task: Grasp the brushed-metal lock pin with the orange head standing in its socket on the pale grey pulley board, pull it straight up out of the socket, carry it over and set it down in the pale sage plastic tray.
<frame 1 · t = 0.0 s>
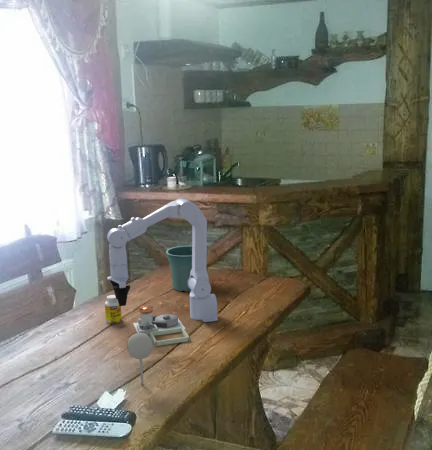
hand: (120, 302, 207), 10 cm above the table, fingers open, 7 cm apart
tray: (169, 341, 198), on the table
flower pot: (187, 288, 254), on the table
lock pin: (147, 330, 205), point 1 cm above the table, touching pulley board
supplement bottle: (114, 324, 215), on the table
pulley board: (159, 329, 209), on the table
lollipop: (142, 384, 169), on the table
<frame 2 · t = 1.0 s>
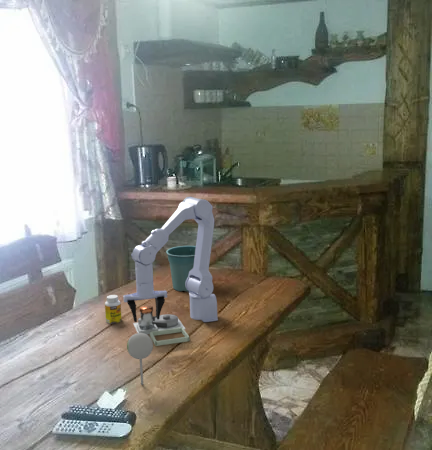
hand: (146, 319, 204), 5 cm above the table, fingers open, 7 cm apart
nothing on the table moved.
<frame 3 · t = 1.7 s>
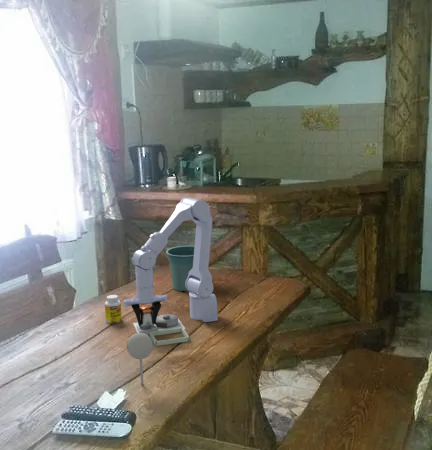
hand: (147, 324, 205), 3 cm above the table, fingers closed on lock pin, 4 cm apart
lock pin: (147, 330, 205), point 1 cm above the table, touching gripper, pulley board
everything else where it was.
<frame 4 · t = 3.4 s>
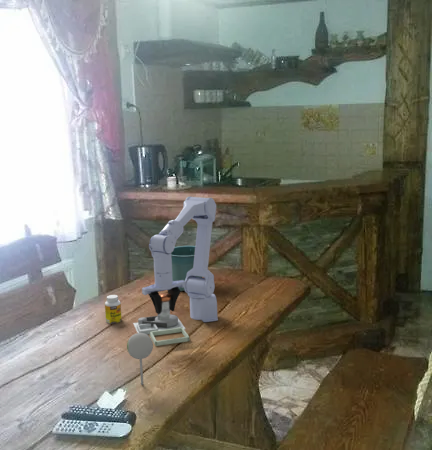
hand: (165, 311, 197), 10 cm above the table, fingers closed on lock pin, 4 cm apart
lock pin: (163, 318, 198), point 7 cm above the table, touching gripper
everything else where it was.
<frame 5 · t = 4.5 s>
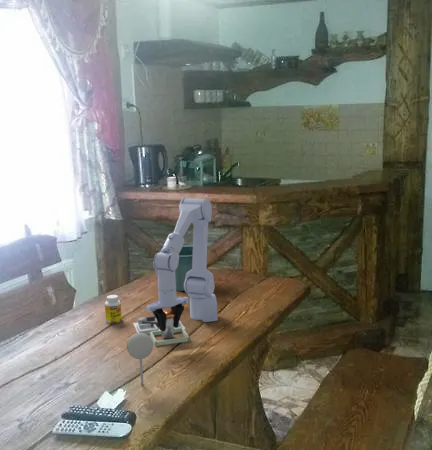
hand: (169, 328, 197), 5 cm above the table, fingers closed on lock pin, 4 cm apart
lock pin: (167, 335, 198), point 2 cm above the table, tilted 5°, touching gripper
everything else where it was.
when the fingers open (4 cm above the table, at t = 5.1 s): lock pin stays where it is, resting on tray.
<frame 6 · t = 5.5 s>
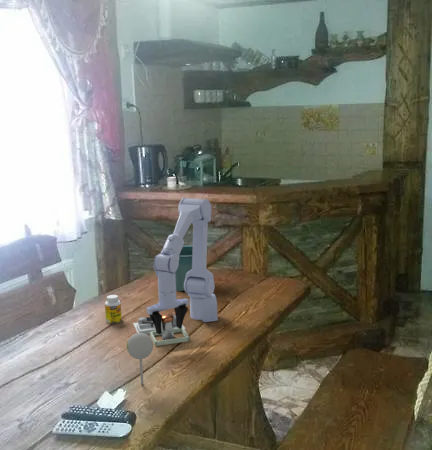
hand: (169, 330, 197), 4 cm above the table, fingers open, 7 cm apart
lock pin: (168, 339, 199), point 1 cm above the table, touching tray
everything else where it was.
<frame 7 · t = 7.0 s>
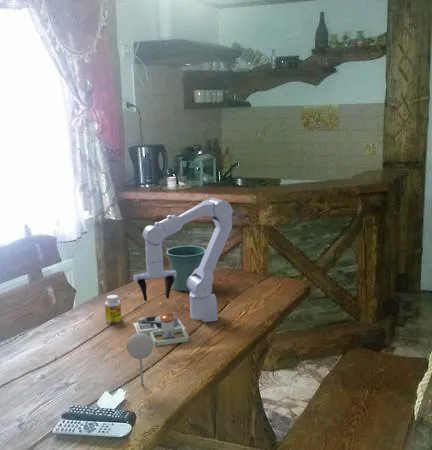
hand: (156, 298, 209), 10 cm above the table, fingers open, 7 cm apart
nothing on the table moved.
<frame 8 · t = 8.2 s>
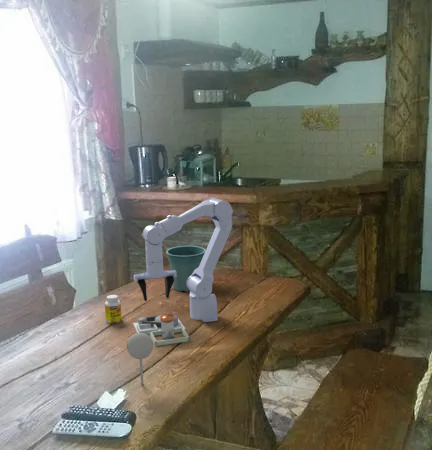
hand: (156, 298, 209), 10 cm above the table, fingers open, 7 cm apart
nothing on the table moved.
at the end: lock pin inside the target area on the tray (0.8 cm from its centre), point 0.5 cm above the tray's base; the gripper is holding nothing; lock pin moved 10.2 cm from its start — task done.
